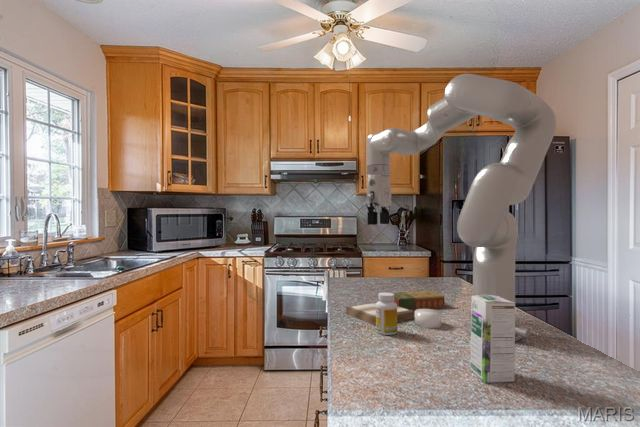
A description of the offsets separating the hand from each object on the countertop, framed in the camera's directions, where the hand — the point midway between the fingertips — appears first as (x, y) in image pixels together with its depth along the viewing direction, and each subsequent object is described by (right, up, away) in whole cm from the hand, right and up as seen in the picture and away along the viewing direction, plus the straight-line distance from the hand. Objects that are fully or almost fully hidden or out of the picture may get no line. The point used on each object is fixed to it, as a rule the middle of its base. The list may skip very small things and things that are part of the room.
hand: (378, 224), depth 117 cm
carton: (+12, -27, +1) cm, 30 cm away
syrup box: (+13, -27, -51) cm, 59 cm away
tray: (-2, -27, -11) cm, 29 cm away
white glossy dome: (+10, -27, -19) cm, 35 cm away
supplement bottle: (-2, -27, -26) cm, 37 cm away
